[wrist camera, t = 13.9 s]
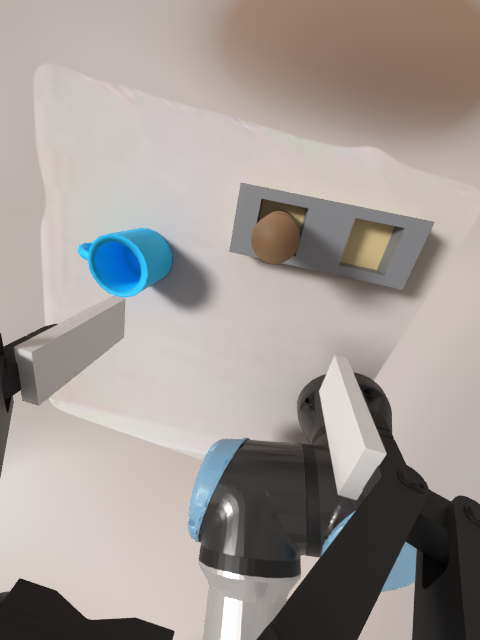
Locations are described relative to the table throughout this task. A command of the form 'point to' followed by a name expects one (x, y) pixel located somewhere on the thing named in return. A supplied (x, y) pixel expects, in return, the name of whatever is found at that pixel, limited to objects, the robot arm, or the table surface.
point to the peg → (275, 237)
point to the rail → (336, 235)
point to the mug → (128, 260)
